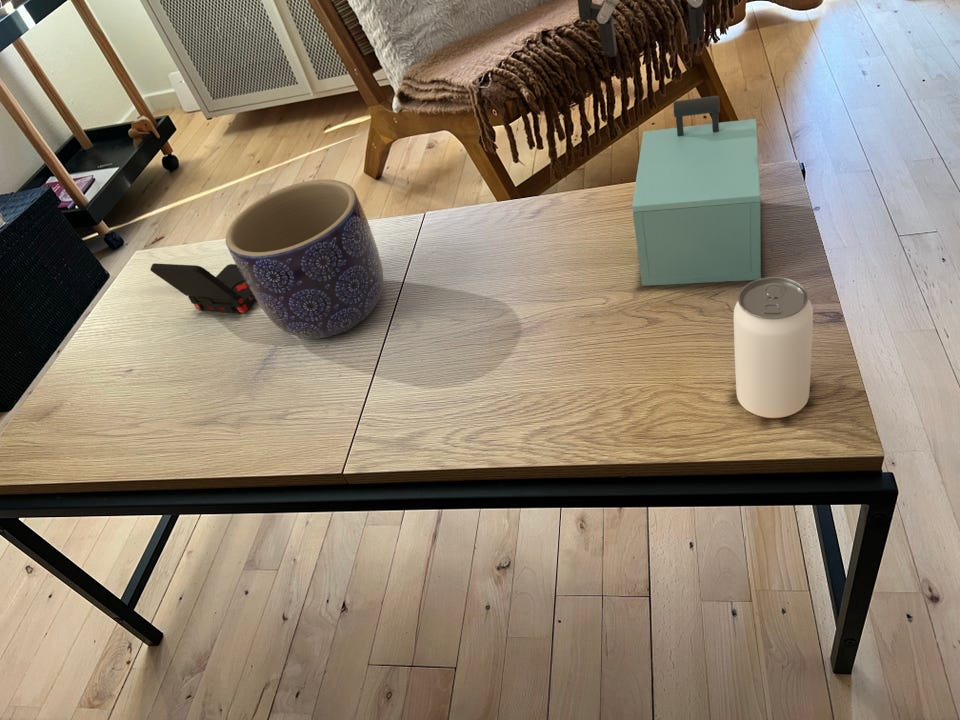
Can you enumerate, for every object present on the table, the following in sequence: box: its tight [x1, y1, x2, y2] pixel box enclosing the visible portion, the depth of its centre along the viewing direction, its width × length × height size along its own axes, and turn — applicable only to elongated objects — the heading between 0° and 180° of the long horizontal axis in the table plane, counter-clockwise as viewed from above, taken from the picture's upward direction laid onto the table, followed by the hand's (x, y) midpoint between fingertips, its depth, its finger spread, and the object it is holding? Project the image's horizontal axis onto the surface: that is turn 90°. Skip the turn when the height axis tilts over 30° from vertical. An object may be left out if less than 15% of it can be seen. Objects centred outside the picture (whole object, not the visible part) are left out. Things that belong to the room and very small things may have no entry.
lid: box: [631, 95, 761, 213], centre depth 86 cm, size 17×13×5 cm
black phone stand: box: [149, 262, 257, 315], centre depth 107 cm, size 9×12×10 cm
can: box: [733, 276, 814, 419], centre depth 70 cm, size 6×6×12 cm
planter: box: [225, 179, 385, 340], centre depth 97 cm, size 16×16×15 cm
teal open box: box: [632, 201, 762, 287], centre depth 91 cm, size 16×13×10 cm
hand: (653, 47), depth 84 cm, fingers open, 8 cm apart
